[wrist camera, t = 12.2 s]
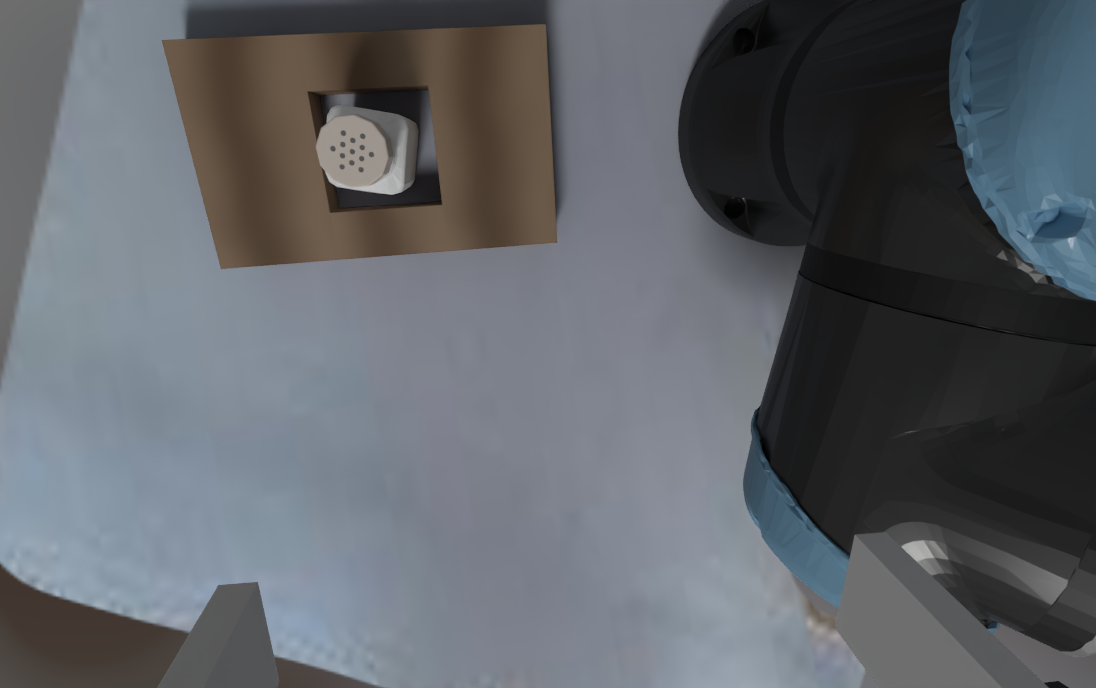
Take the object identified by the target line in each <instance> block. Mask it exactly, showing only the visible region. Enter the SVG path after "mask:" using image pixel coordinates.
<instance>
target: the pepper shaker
mask: <svg viewBox="0 0 1096 688" xmlns="http://www.w3.org/2000/svg"><path fill="white" fill-rule="evenodd" d="M418 134H419V131H418V127H417V124H416V123H415V122H413V121H412V120H410V119H408V118H406V117H403V116H401V115H398V114H394V113H388V112H382V111H376V110H370V109H364V108H358V107H352V106H346V105H337V106H334V107H331V109H330V111H329V113H328V115H327V123H326V124H325V125H324V126H323V127H321V130H320V133H319V136H318V140H317V143H316V150H317V154H318V158H319V163H320V166H321V167H322V168H323V169H324V170H325V173H326V175H327V178H328V180H329V182H330V183H332V184H333V185H335V186H337V187H341V188H347V189H353V190H360V191H366V192H374V193H382V194H390V195H394V194H397V193H401V192H403V191H404V190H406V189H408V188H409V187H411V186H412V184H413V182H414V180H415V174H416V161H417V147H418Z"/></svg>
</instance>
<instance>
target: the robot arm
mask: <svg viewBox="0 0 1096 688" xmlns="http://www.w3.org/2000/svg"><path fill="white" fill-rule="evenodd" d="M678 136H679V152H680V158H681V163H682V167H683V171H684V174H685V177H686V180H687V182H688V185H689V187H690V189H691V191H692V193H693V195H694V196H695V198H696V200H697V201H698V203H699V204H700V205H701V207H702V208H703V209H704V210H705V212H706V213H707V214H708V215H709V216H710V217H711V218H712V219H714V220H715V221H716V222H717V223H718V224H720V225H721V226H723V227H724V228H726V229H727V230H729V231H731V232H733V233H735V234H737V235H740V236H742V237H745V238H748V239H751V240H754V241H757V242H760V243H764V244H769V245H776V246H801V245H806V249H805V252H804V256H803V259H802V263H801V267H800V270H799V271H798V275H797V278H796V282H795V286H794V290H793V294H792V297H791V301H790V305H789V309H788V312H787V316H786V319H785V323H784V326H783V330H782V333H781V337H780V340H779V344H778V347H777V350H776V354H775V357H774V361H773V364H772V368H771V371H770V375H769V378H768V382H767V385H766V389H765V392H764V396H763V399H762V402H761V405H760V407H759V408H758V409H756V410H755V412H754V415H753V418H752V421H751V434H752V441H751V446H750V450H749V454H748V459H747V463H746V468H745V472H744V478H743V490H744V498H745V502H746V506H747V509H748V511H749V514H750V516H751V517H752V519H753V521H754V523H755V524H756V525H757V526H758V528H759V529H760V530H761V533H762V537H763V539H764V541H765V542H766V544H767V545H768V546H769V548H770V549H771V550H772V551H773V552H774V554H775V555H776V556H777V557H778V558H779V559H780V561H781V562H782V563H783V564H784V565H785V566H786V567H787V568H788V569H789V570H790V571H791V572H792V573H793V574H794V575H795V576H796V577H798V578H799V579H800V580H801V581H802V582H803V583H804V584H806V585H807V586H808V587H809V588H811V589H812V590H813V591H814V592H816V593H817V594H818V595H820V596H821V597H822V598H824V599H825V600H826V601H828V602H829V603H831V604H832V605H834V606H835V607H837V608H838V609H839V610H838V615H837V620H836V624H835V628H836V630H837V631H838V633H839V634H840V635H841V637H842V638H843V639H844V641H845V642H846V643H847V645H848V646H849V648H850V649H851V650H852V652H853V653H854V654H855V656H856V657H857V658H858V660H859V661H860V663H861V664H862V665H863V667H864V668H865V669H866V671H867V672H868V673H869V675H870V676H871V677H872V679H873V680H874V682H875V683H876V684H877V686H878V687H879V688H1068V687H1067V686H1065V685H1064V684H1062V683H1061V682H1059V681H1056V682H1048V683H1043V682H1042V681H1041V680H1040V679H1039V678H1038V677H1037V676H1036V675H1035V674H1034V673H1033V672H1032V671H1031V670H1030V669H1029V668H1028V667H1026V665H1024V664H1023V663H1022V662H1021V661H1020V660H1019V659H1018V658H1017V657H1016V656H1015V655H1014V654H1013V653H1012V652H1011V651H1010V650H1009V649H1007V647H1006V646H1004V645H1003V644H1002V643H1001V642H1000V641H999V640H998V639H997V638H996V637H995V636H994V635H993V633H994V632H995V631H996V630H997V629H998V628H999V626H1000V624H1003V625H1005V626H1007V627H1009V628H1011V629H1013V630H1015V631H1018V632H1020V633H1022V634H1025V635H1027V636H1029V637H1031V638H1033V639H1035V640H1038V641H1040V642H1042V643H1044V644H1046V645H1048V646H1051V647H1052V648H1055V649H1057V650H1059V651H1061V652H1063V653H1066V654H1068V655H1070V656H1074V657H1082V656H1087V655H1092V654H1096V0H764V1H762V2H760V3H758V4H756V5H754V6H752V7H750V8H749V9H747V10H746V11H744V12H742V13H741V14H740V15H738V16H737V17H736V18H734V19H733V20H732V21H731V22H730V23H729V24H727V25H726V26H725V27H724V28H723V29H722V30H721V31H720V32H719V33H718V35H717V36H716V37H715V38H714V39H713V40H712V42H711V43H710V44H709V46H708V47H707V48H706V50H705V51H704V53H703V54H702V56H701V57H700V59H699V61H698V63H697V65H696V66H695V68H694V71H693V73H692V75H691V77H690V80H689V82H688V85H687V88H686V91H685V94H684V98H683V101H682V106H681V111H680V118H679V131H678ZM278 684H279V678H278V674H277V669H276V664H275V659H274V655H273V650H272V645H271V641H270V636H269V632H268V627H267V622H266V618H265V613H264V609H263V604H262V599H261V595H260V590H259V585H258V582H253V583H241V584H228V585H218V587H217V589H216V590H215V592H214V594H213V595H212V597H211V599H210V600H209V602H208V604H207V605H206V607H205V609H204V610H203V612H202V614H201V615H200V617H199V619H198V620H197V622H196V624H195V625H194V627H193V629H192V630H191V632H190V634H189V635H188V637H187V639H186V641H185V642H184V644H183V646H182V647H181V649H180V651H179V652H178V654H177V656H176V657H175V659H174V661H173V662H172V664H171V666H170V667H169V669H168V671H167V672H166V674H165V676H164V677H163V679H162V681H161V682H160V684H159V686H158V687H157V688H277V687H278Z"/></svg>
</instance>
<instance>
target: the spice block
mask: <svg viewBox="0 0 1096 688" xmlns="http://www.w3.org/2000/svg"><path fill="white" fill-rule="evenodd" d="M162 43H163V47H164V51H165V55H166V58H167V62H168V66H169V70H170V74H171V78H172V82H173V85H174V89H175V93H176V97H177V101H178V105H179V109H180V112H181V116H182V120H183V124H184V128H185V132H186V136H187V139H188V143H189V147H190V151H191V155H192V159H193V163H194V167H195V170H196V174H197V178H198V182H199V186H200V190H201V194H202V197H203V201H204V205H205V209H206V213H207V217H208V221H209V224H210V228H211V232H212V236H213V240H214V244H215V248H216V251H217V255H218V259H219V263H220V267H221V269H226V268H238V267H251V266H264V265H277V264H289V263H302V262H315V261H328V260H340V259H353V258H366V257H379V256H391V255H404V254H417V253H430V252H442V251H455V250H468V249H481V248H493V247H506V246H519V245H532V244H544V243H557V230H556V211H555V191H554V172H553V153H552V134H551V115H550V95H549V76H548V57H547V38H546V24H536V25H512V26H488V27H464V28H440V29H416V30H392V31H368V32H344V33H320V34H296V35H273V36H249V37H225V38H201V39H177V40H162ZM411 90H429V97H430V105H431V114H432V122H433V131H434V139H435V148H436V156H437V164H438V173H439V181H440V190H441V198H442V201H439V202H425V203H411V204H396V205H382V206H368V207H354V208H340V207H339V202H338V196H337V191H336V186H335V185H333V184H332V183H330V182H329V180H328V178H327V175H326V173H325V170H324V169H323V168H322V167H321V166H320V163H319V158H318V154H317V150H316V143H317V140H318V136H319V133H320V130H321V127H323V126H324V125H325V124H324V118H323V113H322V107H321V102H320V96H319V95H333V94H353V93H372V92H391V91H411Z"/></svg>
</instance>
